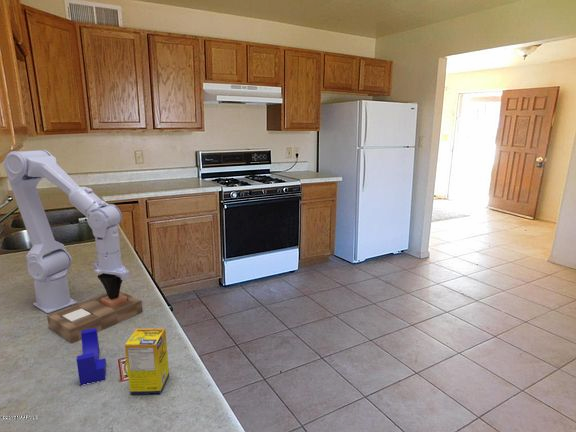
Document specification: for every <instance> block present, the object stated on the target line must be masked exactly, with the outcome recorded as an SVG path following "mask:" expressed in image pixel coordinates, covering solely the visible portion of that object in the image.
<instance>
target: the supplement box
mask: <svg viewBox="0 0 576 432" xmlns="http://www.w3.org/2000/svg"><path fill="white" fill-rule="evenodd" d="M167 343H168V342H167V334H166V328H165V327H164V328H162V327H159V328H155V327H154V328H136V329H135V330H134V332H132V334H131V336H130V337H129V339H128V340H127V341H126V342H125V344H124V348H125V357H126V358H125V359H126V367H127V368H126V369H127V377H128V384H129V393H130V395H131V394H136V395H149V394H148V393H161V394H162V391H163V390H164V388H165V385H166V383H167V381H168V378H169V376H170V371H169V357H168V347H167V345H168V344H167ZM146 393H147V394H146Z"/></svg>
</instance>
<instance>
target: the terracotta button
mask: <svg viewBox="0 0 576 432" xmlns="http://www.w3.org/2000/svg"><path fill="white" fill-rule="evenodd" d="M125 301H127V297H126V296H124V295H122V294H119V297H118V298H115V299H112V300H111V299H109V297H108V296H106V297H104V298H101V303H102V304H104V305H106V306H108V307H113V306H115V305H118V304H120V303H123V302H125Z"/></svg>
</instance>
